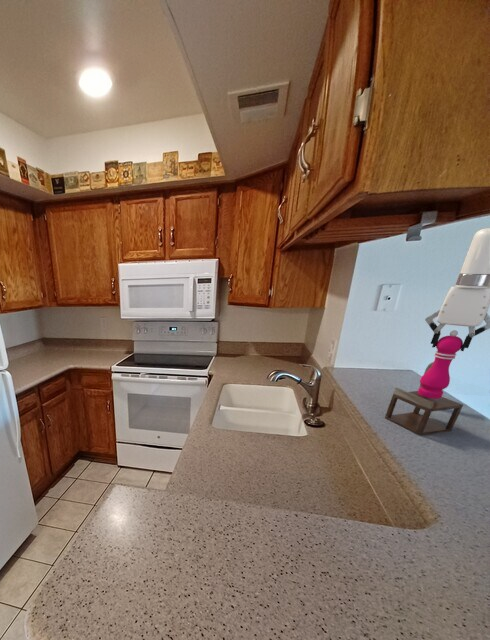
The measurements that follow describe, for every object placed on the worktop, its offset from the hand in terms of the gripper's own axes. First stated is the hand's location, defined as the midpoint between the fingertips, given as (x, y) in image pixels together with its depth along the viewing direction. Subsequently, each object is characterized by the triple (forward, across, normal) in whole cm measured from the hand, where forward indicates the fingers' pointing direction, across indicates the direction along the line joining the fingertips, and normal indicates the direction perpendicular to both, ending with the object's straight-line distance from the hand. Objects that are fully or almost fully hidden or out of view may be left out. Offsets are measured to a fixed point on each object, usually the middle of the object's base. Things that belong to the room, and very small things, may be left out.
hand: (447, 347), depth 97 cm
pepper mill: (+15, 0, 0) cm, 15 cm away
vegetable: (+25, +2, -20) cm, 33 cm away
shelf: (+25, 0, 0) cm, 25 cm away
